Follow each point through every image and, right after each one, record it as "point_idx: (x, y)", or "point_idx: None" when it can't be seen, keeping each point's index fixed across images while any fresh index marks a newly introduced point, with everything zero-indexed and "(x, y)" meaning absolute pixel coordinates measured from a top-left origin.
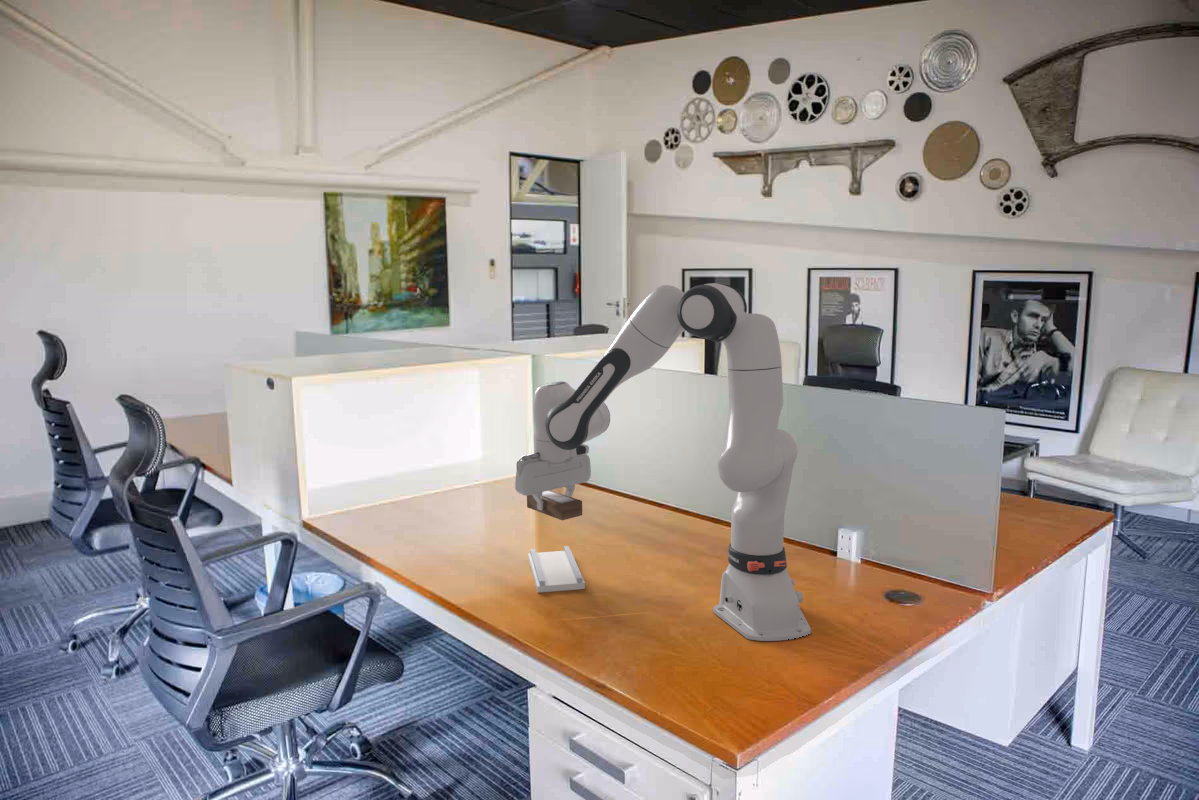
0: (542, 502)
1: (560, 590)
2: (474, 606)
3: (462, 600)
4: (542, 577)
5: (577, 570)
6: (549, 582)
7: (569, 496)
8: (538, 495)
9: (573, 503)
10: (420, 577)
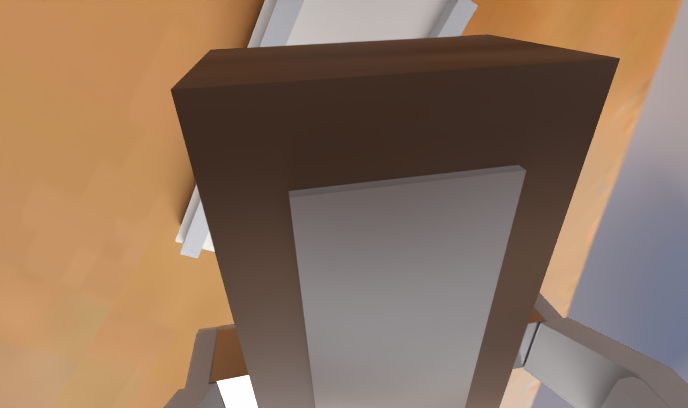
0: (551, 324)
1: None
2: (638, 53)
3: (619, 113)
4: (444, 35)
5: (285, 1)
6: (418, 13)
7: (206, 384)
8: (676, 387)
9: (381, 75)
10: (561, 283)
